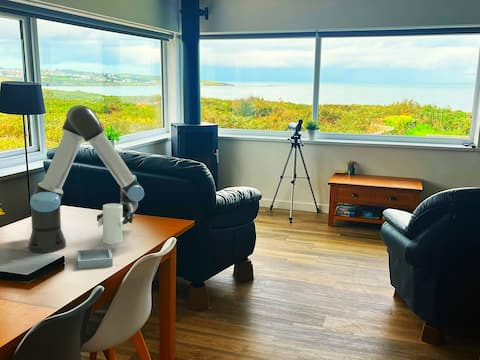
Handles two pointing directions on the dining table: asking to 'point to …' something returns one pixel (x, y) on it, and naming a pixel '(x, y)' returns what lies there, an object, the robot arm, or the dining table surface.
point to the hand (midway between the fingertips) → (109, 224)
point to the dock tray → (94, 258)
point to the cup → (112, 223)
